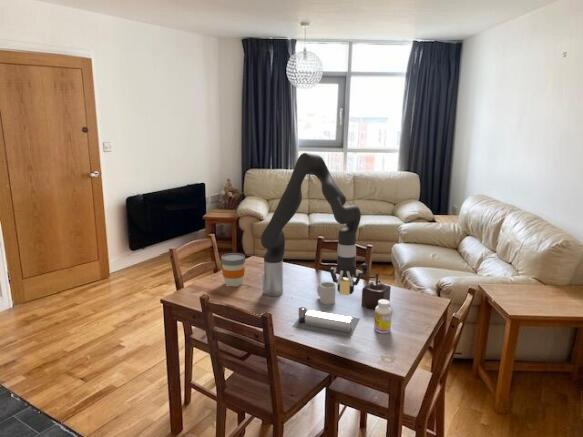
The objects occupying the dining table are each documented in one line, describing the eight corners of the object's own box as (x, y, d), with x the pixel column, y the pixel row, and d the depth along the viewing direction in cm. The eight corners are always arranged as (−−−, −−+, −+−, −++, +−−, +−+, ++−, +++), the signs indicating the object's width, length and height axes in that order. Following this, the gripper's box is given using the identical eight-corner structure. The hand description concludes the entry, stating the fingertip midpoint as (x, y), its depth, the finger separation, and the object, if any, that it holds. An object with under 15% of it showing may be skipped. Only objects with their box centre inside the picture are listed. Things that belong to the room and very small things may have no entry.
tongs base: (296, 323, 181) (297, 310, 179) (300, 319, 184) (300, 306, 183) (348, 333, 173) (349, 319, 171) (351, 328, 176) (351, 315, 175)
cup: (327, 307, 198) (328, 289, 196) (312, 300, 205) (312, 282, 203) (338, 302, 202) (338, 285, 200) (322, 296, 210) (323, 279, 207)
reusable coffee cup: (216, 285, 222) (215, 257, 218) (232, 277, 232) (231, 251, 229) (235, 290, 216) (234, 262, 212) (250, 282, 226) (250, 255, 222)
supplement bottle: (372, 326, 180) (373, 298, 177) (387, 325, 180) (389, 297, 177) (376, 334, 173) (378, 305, 170) (392, 333, 174) (394, 304, 171)
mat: (291, 328, 178) (291, 326, 178) (305, 310, 194) (305, 309, 194) (350, 339, 169) (350, 338, 169) (360, 319, 185) (360, 318, 185)
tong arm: (306, 321, 182) (307, 311, 181) (308, 319, 184) (308, 309, 183) (350, 329, 175) (350, 319, 174) (351, 327, 177) (352, 317, 176)
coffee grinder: (390, 304, 201) (393, 268, 197) (382, 312, 192) (384, 275, 188) (360, 296, 210) (362, 261, 205) (350, 304, 201) (352, 268, 196)
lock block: (339, 294, 177) (339, 280, 175) (342, 290, 180) (342, 277, 179) (349, 295, 175) (349, 281, 174) (351, 291, 179) (351, 278, 178)
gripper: (365, 253, 175) (364, 291, 179) (332, 249, 180) (331, 287, 184) (361, 258, 168) (360, 298, 172) (327, 254, 173) (326, 293, 177)
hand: (345, 292), depth 178 cm, fingers closed on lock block, 4 cm apart
